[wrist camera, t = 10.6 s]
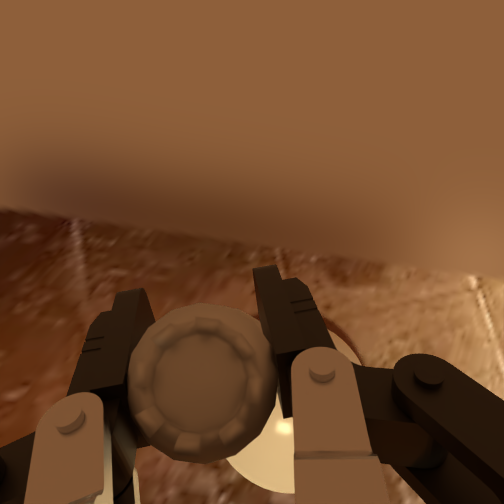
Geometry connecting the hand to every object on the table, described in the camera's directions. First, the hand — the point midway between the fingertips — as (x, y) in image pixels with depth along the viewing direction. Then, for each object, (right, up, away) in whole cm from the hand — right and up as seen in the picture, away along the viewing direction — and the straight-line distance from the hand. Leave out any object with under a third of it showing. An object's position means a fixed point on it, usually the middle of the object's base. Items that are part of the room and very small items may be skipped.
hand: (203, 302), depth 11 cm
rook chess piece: (0, -3, +4) cm, 5 cm away
